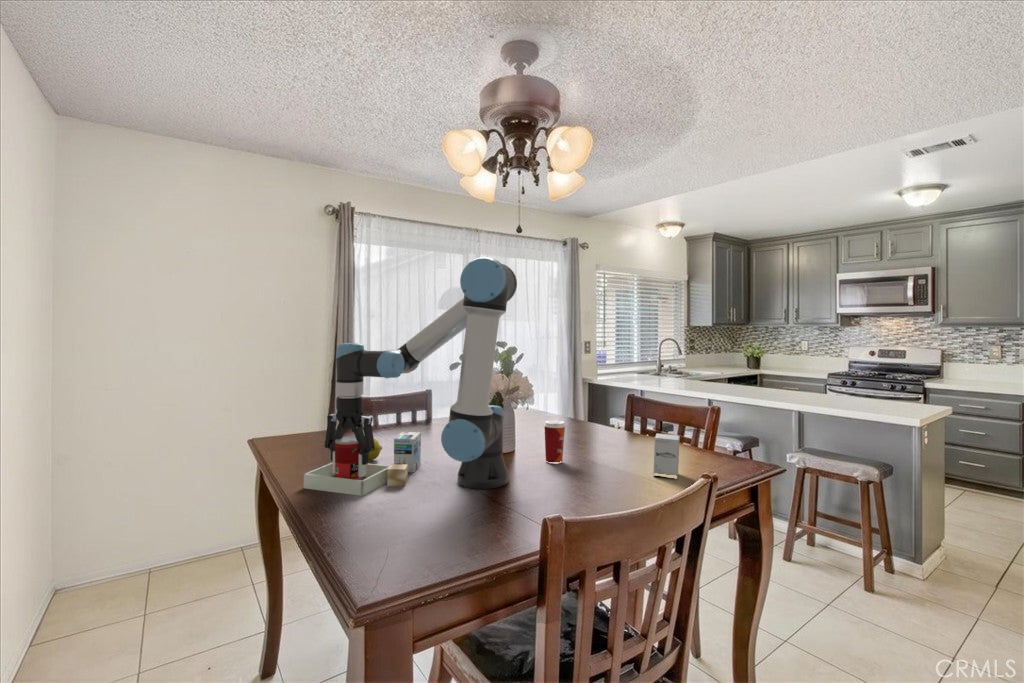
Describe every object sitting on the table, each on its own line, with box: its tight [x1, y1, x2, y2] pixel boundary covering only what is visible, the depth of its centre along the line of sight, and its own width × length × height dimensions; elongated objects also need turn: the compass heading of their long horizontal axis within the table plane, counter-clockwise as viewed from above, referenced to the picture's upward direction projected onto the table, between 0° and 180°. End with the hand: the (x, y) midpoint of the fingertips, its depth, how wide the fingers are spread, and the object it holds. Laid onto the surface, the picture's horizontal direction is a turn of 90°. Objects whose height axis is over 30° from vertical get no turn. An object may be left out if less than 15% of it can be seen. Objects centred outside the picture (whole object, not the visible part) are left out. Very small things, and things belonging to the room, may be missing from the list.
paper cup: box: [543, 419, 566, 462], centre depth 167 cm, size 8×8×14 cm
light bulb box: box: [393, 431, 422, 473], centre depth 158 cm, size 11×7×11 cm, turn 179°
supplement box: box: [653, 433, 681, 476], centre depth 154 cm, size 7×7×13 cm
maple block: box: [386, 463, 409, 487], centre depth 142 cm, size 5×5×5 cm
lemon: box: [368, 438, 383, 462], centre depth 165 cm, size 11×8×8 cm
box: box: [303, 461, 390, 497], centre depth 141 cm, size 19×15×4 cm
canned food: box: [334, 435, 361, 480], centre depth 141 cm, size 8×8×11 cm
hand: (349, 473), depth 141 cm, fingers closed on canned food, 8 cm apart
